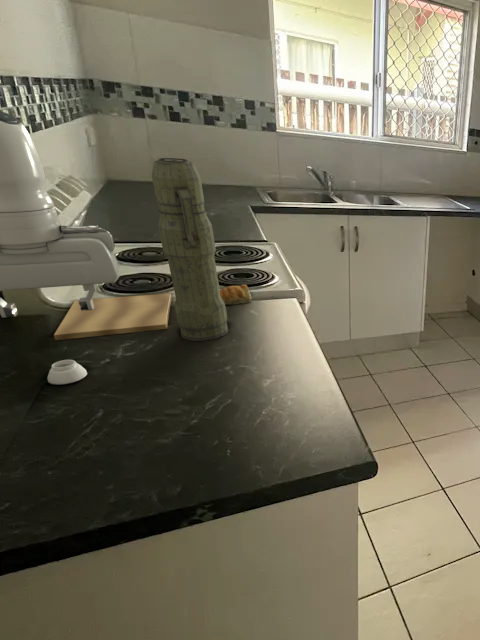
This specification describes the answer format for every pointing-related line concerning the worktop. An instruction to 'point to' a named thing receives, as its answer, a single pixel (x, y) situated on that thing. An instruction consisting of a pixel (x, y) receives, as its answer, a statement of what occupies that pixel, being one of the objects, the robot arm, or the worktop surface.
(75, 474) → the worktop surface
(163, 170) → the beige stone tall figure
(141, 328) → the board
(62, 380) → the white bowl
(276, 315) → the worktop surface
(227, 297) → the pastry
